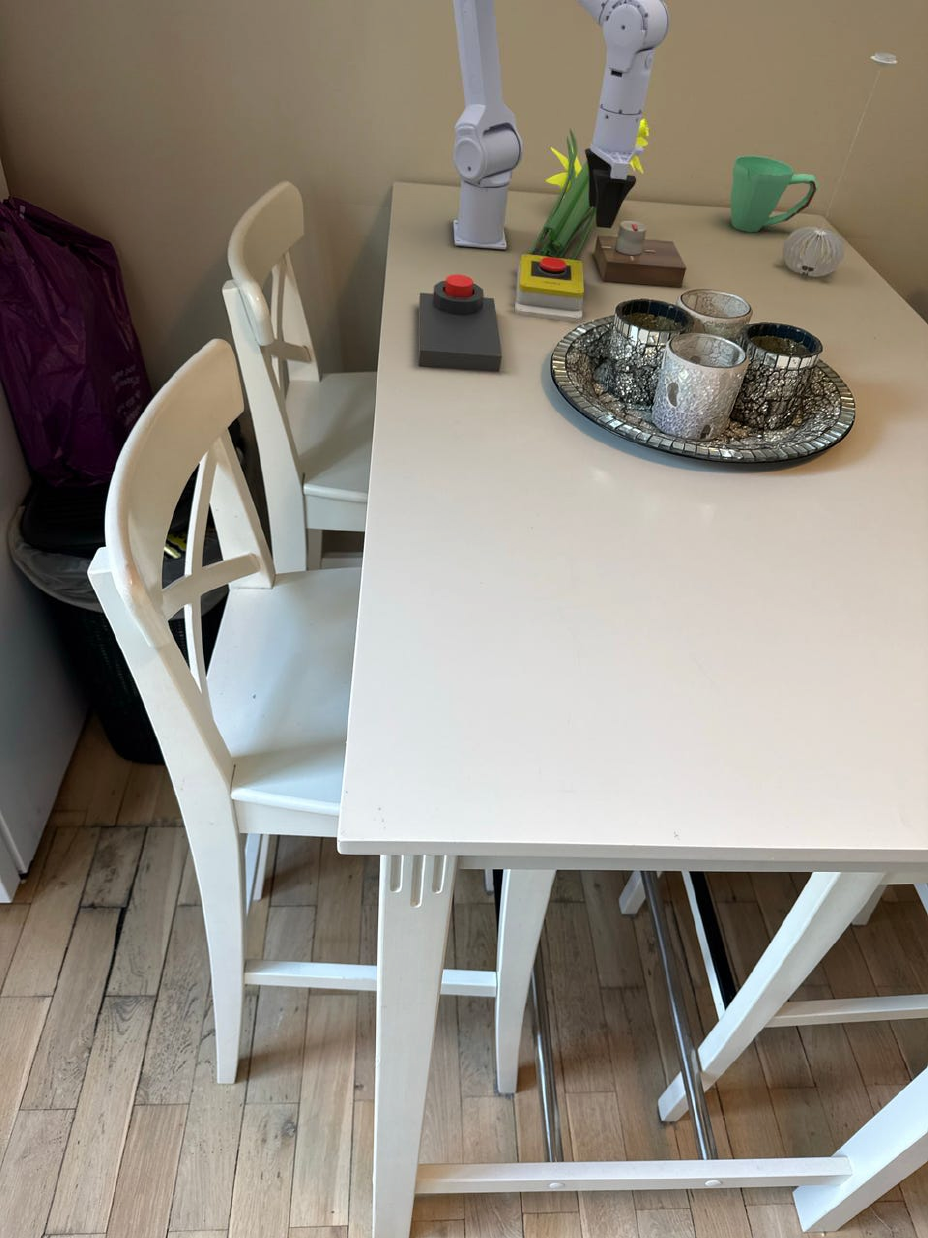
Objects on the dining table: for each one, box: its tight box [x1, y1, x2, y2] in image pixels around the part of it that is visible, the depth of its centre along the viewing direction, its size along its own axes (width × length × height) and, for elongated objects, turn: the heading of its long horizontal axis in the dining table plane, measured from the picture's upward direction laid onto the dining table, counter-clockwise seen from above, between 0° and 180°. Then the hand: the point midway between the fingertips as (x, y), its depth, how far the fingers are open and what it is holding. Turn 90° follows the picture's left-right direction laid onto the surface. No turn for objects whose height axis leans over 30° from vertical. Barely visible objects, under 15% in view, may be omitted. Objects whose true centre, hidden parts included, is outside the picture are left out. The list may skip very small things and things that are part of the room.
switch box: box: [418, 280, 503, 373], centre depth 113 cm, size 17×10×4 cm, turn 2°
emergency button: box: [514, 253, 585, 323], centre depth 124 cm, size 9×4×15 cm
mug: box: [730, 155, 819, 233], centre depth 150 cm, size 15×10×10 cm
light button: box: [445, 274, 474, 298], centre depth 115 cm, size 4×4×2 cm
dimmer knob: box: [615, 220, 648, 255], centre depth 132 cm, size 4×4×4 cm
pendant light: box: [782, 52, 898, 278], centre depth 132 cm, size 9×9×30 cm
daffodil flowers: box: [528, 117, 650, 260], centre depth 141 cm, size 17×15×35 cm
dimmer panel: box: [593, 234, 687, 288], centre depth 134 cm, size 10×12×3 cm
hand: (599, 216), depth 124 cm, fingers open, 7 cm apart
